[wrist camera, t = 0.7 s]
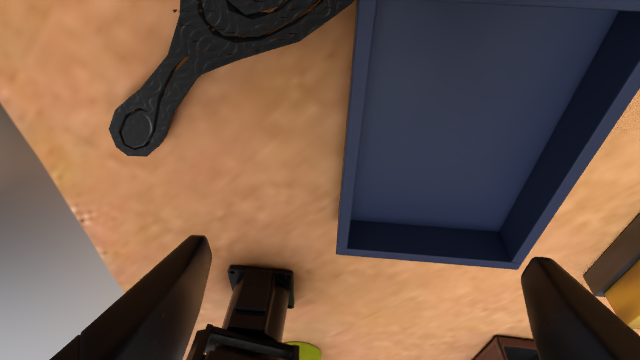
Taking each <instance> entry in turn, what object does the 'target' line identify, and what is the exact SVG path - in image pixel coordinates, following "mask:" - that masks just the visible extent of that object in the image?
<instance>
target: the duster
mask: <svg viewBox="0 0 640 360" xmlns="http://www.w3.org/2000/svg"><path fill="white" fill-rule="evenodd" d="M583 277H584V279H585V281H586V283H587V284H588V286H589V288H590V290H591V291H592V293H593V295H594V296H599V297H606V298H607V300H608V302H609V303H610V305H611V307H612V308H613V310H614V312H615V313H616V315H617V316H618V317H619V318H620V319H621V320H622V321H623V322H624V323H626V324H627V325H628V326H629V327H630V328H632V329H640V214H639V215H638V216H637V217H636V218H635V219H634V220H633V221H632V223H631V224H630V225H629V226H628V227H627V228H626V229H625V230H624V231H623V233H622V234H621V235H620V236H619V237H618V238H617V239H616V240H615V241H614V243H613V244H612V245H611V246H610V247H609V248H608V249H607V250H606V251H605V253H604V254H603V255H602V256H601V257H600V258H599V259H598V260H597V261H596V263H595V264H594V265H593V266H592V267H591V268H590V269H589V270H588V271H587V272H586V274H585V275H584V276H583Z"/></svg>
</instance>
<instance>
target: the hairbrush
mask: <svg viewBox="0 0 640 360" xmlns="http://www.w3.org/2000/svg"><path fill="white" fill-rule="evenodd" d="M284 1H285V0H180V16H179V19H178V23H177V26H176V29H175V33H174V36H173V39H172V43H171V46H170V49H169V53H168V55H167V56H166V58H165V59H164V60H163V61H162V63H161V64H160V65H159V66H158V68H157V69H156V70H155V71H154V73H153V74H152V75H151V76H150V77H149V79H148V80H147V81H146V82H145V84H144V85H143V86H142V87H141V89H140V90H138V91H137V92H136V93H134V94H133V95H132V96H131V97H129V98H128V99H127V100H126V101H125V102H124V103H123V104H121V105H120V106H119V107H118V108H117V109H116V110H115V112H114V115H113V118H112V121H111V124H110V127H109V131H110V133H111V136H112V138H113V140H114V143H115V145H116V147H117V148H118V149H120V150H121V151H122V152H123V153H125V154H126V155H127V156H146V157H147V156H148V155H149V154H150V153H151V152H152V151H153V150H155V149H156V148H157V147H159V145H160V144H161V143H162V142H163V140H164V139H165V137H166V135H167V133H168V130H169V127H170V125H171V122H172V119H173V116H174V114H175V111H176V109H177V107H178V105H179V104H180V103H181V101H182V100H183V98H184V97H185V95H186V94H187V92H188V91H189V90H190V88H191V87H192V85H193V84H194V82H195V81H196V79H197V78H198V77H199V76H201V75H202V74H204V73H206V72H209V71H211V70H214V69H216V68H219V67H221V66H224V65H227V64H229V63H232V62H234V61H237V60H240V59H243V58H247V57H250V56H253V55H256V54H260V53H263V52H266V51H269V50H273V49H276V48H279V47H282V46H286V45H289V44H292V43H296V42H299V41H301V40H302V39H303V38H305V37H306V36H308V35H309V34H310V33H312V32H313V31H315V30H316V29H317V28H319V27H320V26H321V25H323V24H324V23H326V22H327V21H328V20H330V19H331V18H332V17H334V16H335V15H337V14H338V13H339V12H341V11H342V10H343V9H345V8H346V7H347V6H349V5H350V4H351V3H352V2H353V1H354V0H321V1H320V2H319V3H318V4H317V5H316V6H315V8H314V9H313V10H312V11H310V12H308V13H306V14H305V15H303V16H301V17H299V18H297V17H298V16H299V15H300V14H301V13H303V12H304V11H305V10H306V9H307V8H308V7H310V6H311V5H312V4H314V3H315V2H316V1H317V0H288V1H286V2H285V3H284V4H282V3H283V2H284ZM281 4H282V5H281ZM280 5H281V6H280ZM277 6H280V7H278V8H277V9H275V10H274V11H273V12H271V13H256V12H260V11H264V10H267V9H271V8H274V7H277ZM173 11H174V13H175V12H176V11H177V10H173ZM295 18H297V19H296V20H294V21H292V22H290V23H288V24H286V25H285V26H283V27H281V28H279V29H277V30H276V31H274V32H272V33H270V34H265V33H267V32H269V31H271V30H273V29H275V28H277V27H279V26H281V25H283V24H285V23H287V22H289V21H291V20H293V19H295ZM263 34H265V35H263ZM237 36H252V37H246V38H240V37H237ZM185 56H189V58H188V59H187V60H186V61H185V62H184V63H183V64H182V65H181V66H180V67H179V68H178V69H177V70H176V71H175V69H176V67H177V65H178V64H179V63H180V62H181V61H182V59H183V58H184V57H185ZM174 71H175V72H174ZM173 73H174V74H173ZM172 75H173V76H172ZM171 77H172V78H171ZM170 79H171V80H170ZM169 81H170V83H169ZM168 83H169V85H168V87H167V89H166V91H165V88H166V86H167V84H168ZM164 92H165V93H164ZM137 108H138V109H137ZM135 109H136V110H135ZM133 110H135V111H134V112H133V113H132V114H131V115H130V113H131V111H133ZM129 115H130V116H129ZM153 134H154V135H153ZM151 138H152V139H151ZM150 139H151V141H149V140H150ZM148 141H149V142H148Z"/></svg>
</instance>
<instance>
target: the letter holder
mask: <svg viewBox="0 0 640 360" xmlns="http://www.w3.org/2000/svg"><path fill="white" fill-rule="evenodd" d="M474 360H540V358H539V355H538V352H537V349H536V346H535V342H534V341H530V340H522V339H515V338H506V337H501V336H496V337H495V339H494V340H493V341H492V342H491V343H490V344H489V345H488V346H487V347H486V348H485V349H484V350H483V351H482V352H481V353H480V354H479V355H478V356H477V357H476V358H475V359H474Z"/></svg>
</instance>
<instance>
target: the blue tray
mask: <svg viewBox="0 0 640 360" xmlns="http://www.w3.org/2000/svg"><path fill="white" fill-rule="evenodd" d="M639 88H640V0H357V8H356V20H355V31H354V43H353V54H352V66H351V77H350V89H349V100H348V111H347V123H346V134H345V146H344V157H343V169H342V180H341V192H340V203H339V215H338V229H337V245H336V254H337V255H349V256H361V257H373V258H385V259H397V260H409V261H420V262H432V263H444V264H456V265H468V266H480V267H492V268H504V269H516V270H518V268H519V267H520V265H521V264H522V262H523V261H524V259H525V258H526V256H527V255H528V253H529V252H530V250H531V249H532V247H533V246H534V244H535V243H536V241H537V240H538V238H539V237H540V236H541V234H542V233H543V231H544V230H545V228H546V227H547V225H548V224H549V222H550V221H551V219H552V218H553V216H554V215H555V213H556V212H557V210H558V209H559V207H560V206H561V204H562V203H563V201H564V200H565V198H566V197H567V195H568V194H569V192H570V191H571V189H572V188H573V186H574V185H575V184H576V182H577V181H578V179H579V178H580V176H581V175H582V173H583V172H584V170H585V169H586V167H587V166H588V164H589V163H590V161H591V160H592V158H593V157H594V155H595V154H596V152H597V151H598V149H599V148H600V146H601V145H602V143H603V142H604V140H605V139H606V137H607V136H608V134H609V133H610V131H611V130H612V129H613V127H614V126H615V124H616V123H617V121H618V120H619V118H620V117H621V115H622V114H623V112H624V111H625V109H626V108H627V106H628V105H629V103H630V102H631V100H632V99H633V97H634V96H635V94H636V93H637V91H638V90H639Z"/></svg>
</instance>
